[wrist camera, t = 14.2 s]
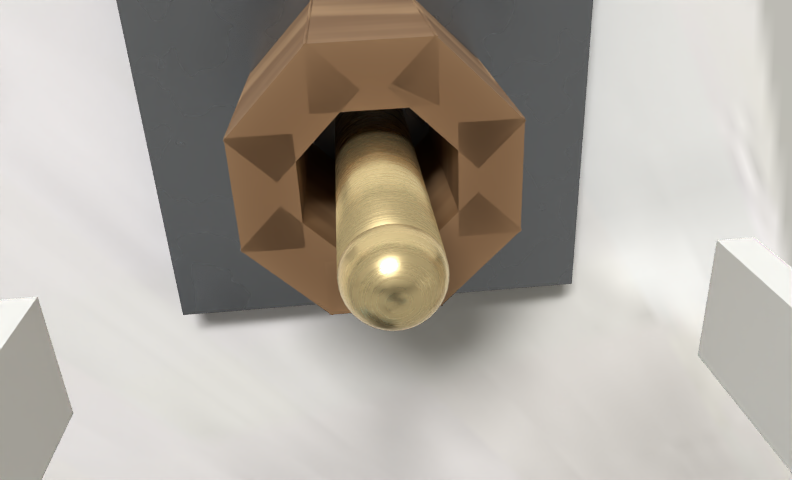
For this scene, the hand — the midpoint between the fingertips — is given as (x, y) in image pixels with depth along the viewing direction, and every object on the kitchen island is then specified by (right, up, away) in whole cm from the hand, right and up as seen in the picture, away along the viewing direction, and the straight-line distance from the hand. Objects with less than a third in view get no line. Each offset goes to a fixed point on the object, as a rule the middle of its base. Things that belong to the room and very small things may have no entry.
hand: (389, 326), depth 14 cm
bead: (-1, +6, +12) cm, 14 cm away
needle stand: (-1, +7, +13) cm, 15 cm away
